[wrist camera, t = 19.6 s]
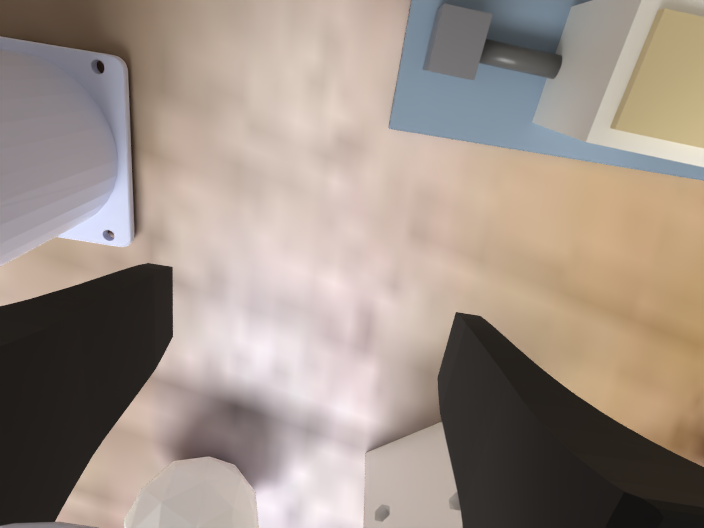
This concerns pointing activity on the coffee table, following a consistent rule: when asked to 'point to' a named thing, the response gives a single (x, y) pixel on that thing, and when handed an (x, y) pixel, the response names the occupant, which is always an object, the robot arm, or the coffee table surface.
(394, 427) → the coffee table surface
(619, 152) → the mat
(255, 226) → the coffee table surface
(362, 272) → the coffee table surface
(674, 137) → the wall lamp
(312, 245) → the coffee table surface
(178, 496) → the ornament
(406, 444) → the white wedge bracket
